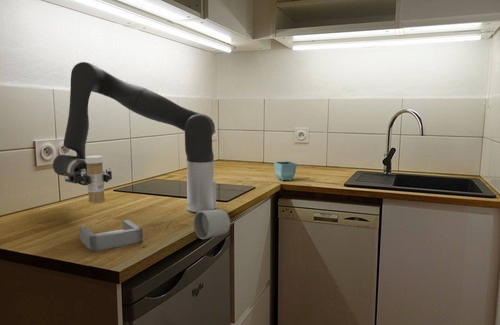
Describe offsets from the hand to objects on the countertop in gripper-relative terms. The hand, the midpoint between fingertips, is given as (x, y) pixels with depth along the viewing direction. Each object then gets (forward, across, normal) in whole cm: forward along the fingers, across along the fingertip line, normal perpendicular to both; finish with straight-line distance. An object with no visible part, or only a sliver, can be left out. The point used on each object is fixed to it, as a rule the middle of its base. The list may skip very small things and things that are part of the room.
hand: (98, 179), depth 109 cm
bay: (+10, 0, +15) cm, 18 cm away
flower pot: (-31, +100, +17) cm, 106 cm away
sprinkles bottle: (-3, 0, +7) cm, 8 cm away
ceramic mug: (+21, +23, +16) cm, 35 cm away
